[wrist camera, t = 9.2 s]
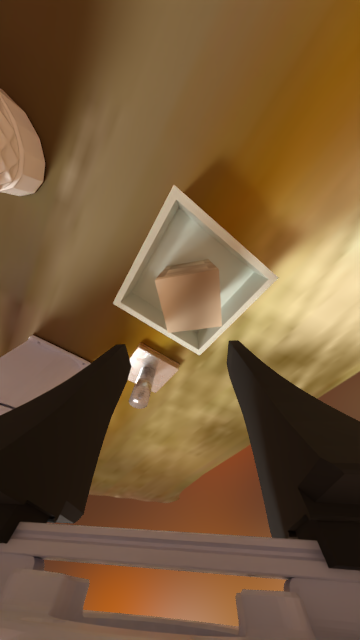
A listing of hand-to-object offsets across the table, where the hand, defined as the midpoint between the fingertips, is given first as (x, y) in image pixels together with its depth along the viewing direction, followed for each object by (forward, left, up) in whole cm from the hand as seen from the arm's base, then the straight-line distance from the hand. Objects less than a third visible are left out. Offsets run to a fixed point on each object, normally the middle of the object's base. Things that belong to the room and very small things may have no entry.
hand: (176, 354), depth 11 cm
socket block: (-1, +3, -9) cm, 10 cm away
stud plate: (+2, -12, -10) cm, 16 cm away
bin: (-1, +3, -10) cm, 10 cm away
